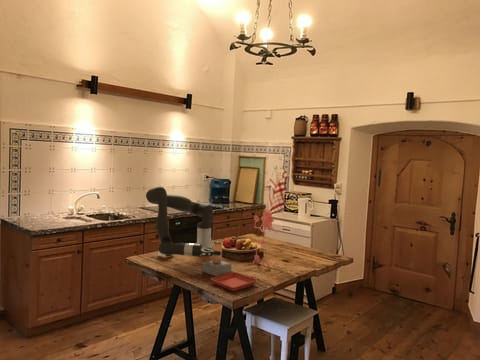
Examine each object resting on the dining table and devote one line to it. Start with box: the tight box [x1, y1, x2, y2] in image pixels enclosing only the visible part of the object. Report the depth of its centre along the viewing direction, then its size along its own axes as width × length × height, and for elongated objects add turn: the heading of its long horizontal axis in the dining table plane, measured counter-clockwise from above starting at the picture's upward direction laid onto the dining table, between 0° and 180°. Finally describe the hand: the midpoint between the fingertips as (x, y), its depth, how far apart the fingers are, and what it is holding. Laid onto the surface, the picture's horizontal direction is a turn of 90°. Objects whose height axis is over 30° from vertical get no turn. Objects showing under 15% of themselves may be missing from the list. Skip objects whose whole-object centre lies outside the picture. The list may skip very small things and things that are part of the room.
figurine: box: [252, 208, 278, 269], centre depth 249 cm, size 15×26×35 cm, turn 28°
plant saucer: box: [210, 271, 258, 292], centre depth 214 cm, size 18×18×3 cm
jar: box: [211, 240, 223, 263], centre depth 233 cm, size 5×5×12 cm
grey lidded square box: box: [201, 260, 232, 277], centre depth 234 cm, size 12×12×5 cm
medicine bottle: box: [157, 245, 175, 259], centre depth 262 cm, size 7×7×12 cm
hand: (221, 252), depth 233 cm, fingers closed on jar, 5 cm apart
